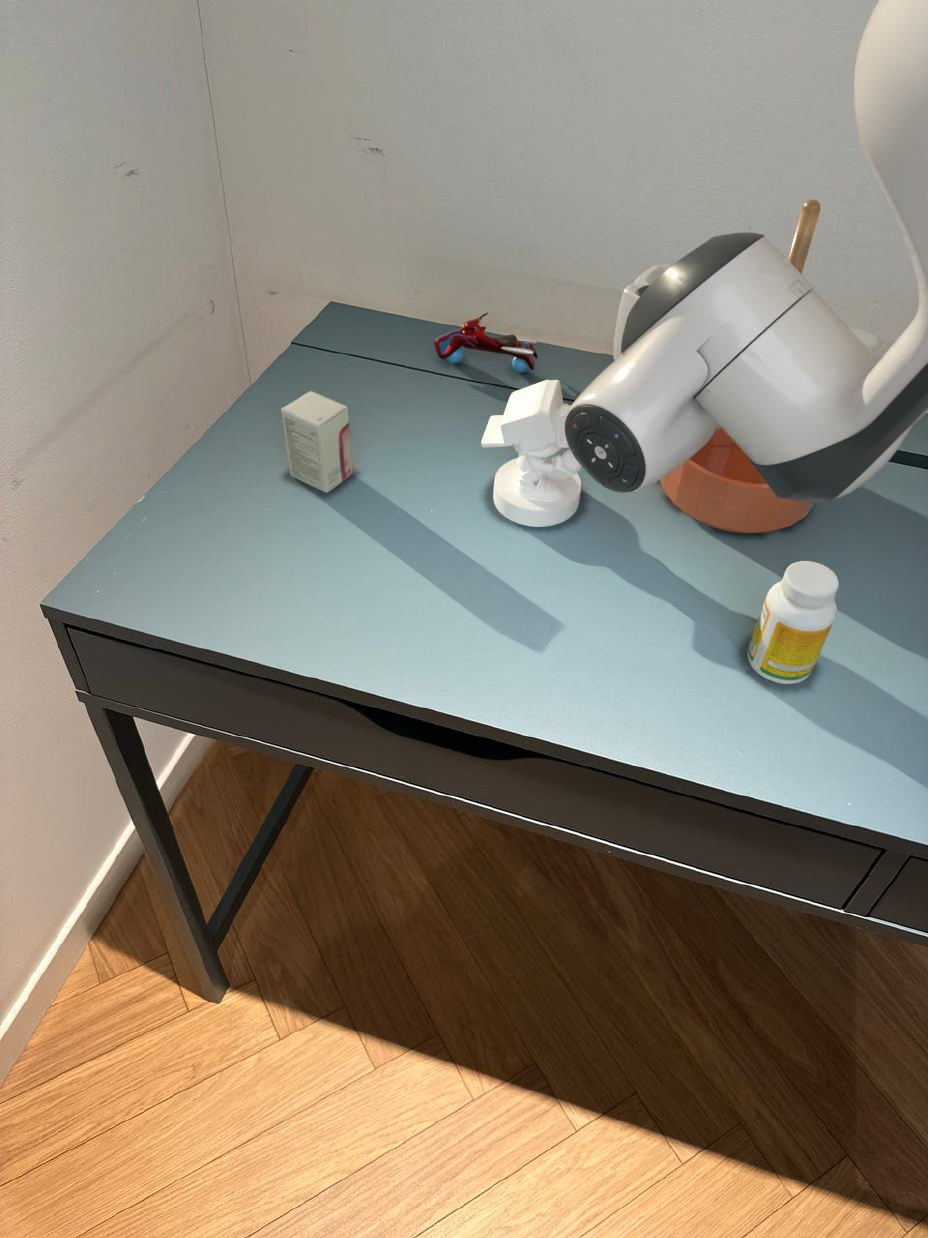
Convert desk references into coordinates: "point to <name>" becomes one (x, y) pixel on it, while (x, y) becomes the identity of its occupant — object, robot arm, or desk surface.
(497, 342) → the hoverbike
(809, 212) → the wooden post stand
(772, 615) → the supplement bottle
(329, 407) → the small box
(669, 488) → the bowl
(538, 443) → the character figurine
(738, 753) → the desk surface
